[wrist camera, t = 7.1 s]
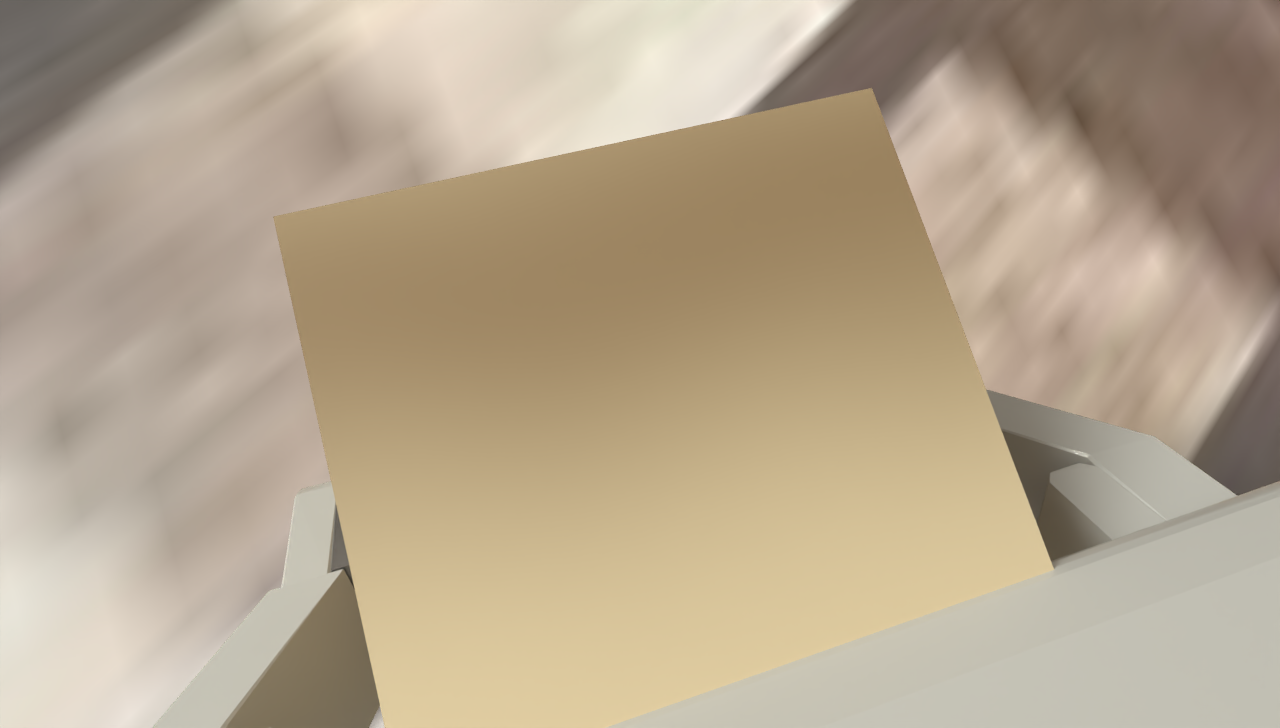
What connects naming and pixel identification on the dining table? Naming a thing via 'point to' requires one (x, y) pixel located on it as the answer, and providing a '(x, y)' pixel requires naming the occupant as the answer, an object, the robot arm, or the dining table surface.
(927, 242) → the beech block
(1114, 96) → the dining table surface
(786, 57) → the dining table surface
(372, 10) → the dining table surface
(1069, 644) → the robot arm
